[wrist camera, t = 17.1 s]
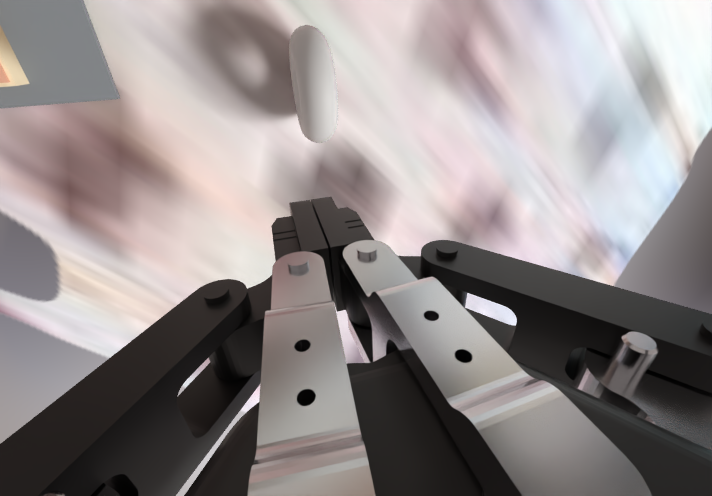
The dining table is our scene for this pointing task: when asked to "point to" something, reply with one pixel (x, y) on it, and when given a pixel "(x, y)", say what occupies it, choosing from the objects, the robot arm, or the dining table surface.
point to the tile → (10, 65)
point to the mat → (54, 54)
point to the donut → (313, 83)
